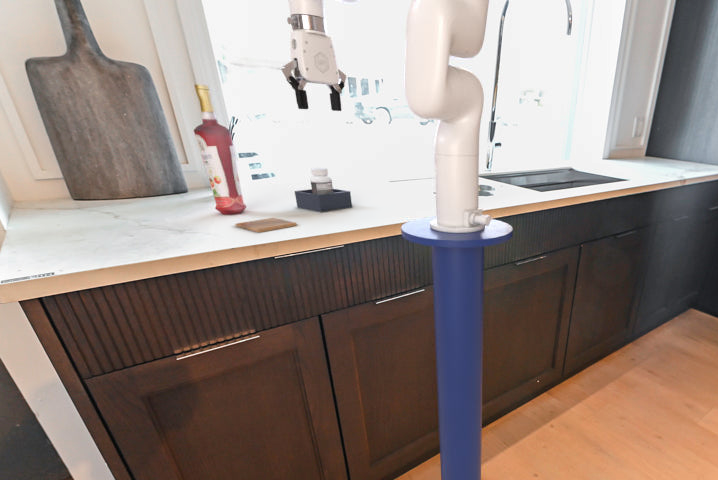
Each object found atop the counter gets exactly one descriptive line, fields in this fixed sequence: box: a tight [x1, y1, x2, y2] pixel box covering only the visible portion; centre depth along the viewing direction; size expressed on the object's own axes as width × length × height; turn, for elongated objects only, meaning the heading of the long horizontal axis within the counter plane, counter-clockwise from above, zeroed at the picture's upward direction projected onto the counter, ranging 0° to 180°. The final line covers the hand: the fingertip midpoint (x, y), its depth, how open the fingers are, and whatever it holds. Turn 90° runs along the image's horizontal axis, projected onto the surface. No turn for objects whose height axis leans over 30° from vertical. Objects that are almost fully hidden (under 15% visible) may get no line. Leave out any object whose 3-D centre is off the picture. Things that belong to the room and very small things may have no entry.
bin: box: [294, 188, 353, 213], centre depth 117 cm, size 10×10×4 cm
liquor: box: [193, 84, 248, 215], centre depth 101 cm, size 7×7×28 cm
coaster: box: [234, 217, 298, 233], centre depth 96 cm, size 9×9×1 cm
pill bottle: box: [310, 167, 334, 195], centre depth 116 cm, size 5×5×10 cm
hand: (320, 109), depth 107 cm, fingers open, 9 cm apart
